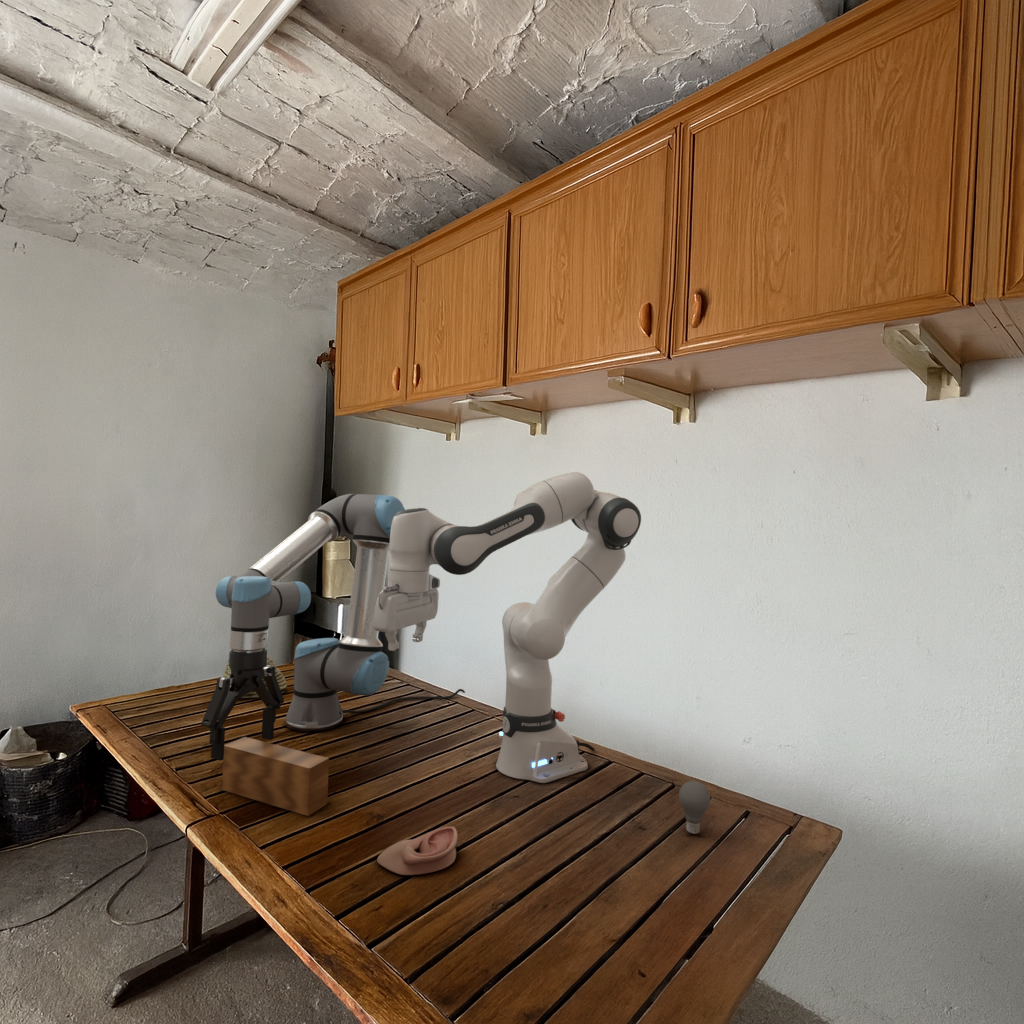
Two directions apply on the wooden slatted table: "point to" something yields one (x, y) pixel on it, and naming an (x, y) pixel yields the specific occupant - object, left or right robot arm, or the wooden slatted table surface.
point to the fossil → (278, 675)
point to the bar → (276, 775)
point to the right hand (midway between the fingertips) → (405, 645)
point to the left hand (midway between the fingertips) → (243, 748)
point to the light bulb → (694, 804)
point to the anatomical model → (421, 853)
